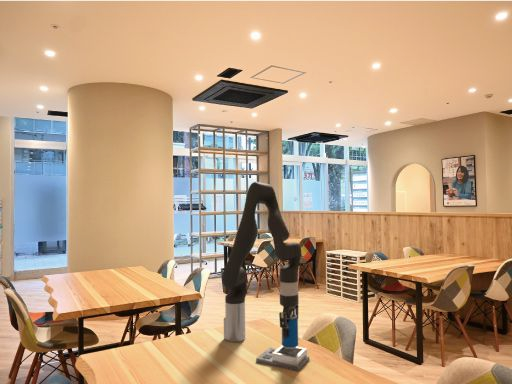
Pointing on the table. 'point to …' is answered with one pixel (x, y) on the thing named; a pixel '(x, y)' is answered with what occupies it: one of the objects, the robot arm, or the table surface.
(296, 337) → the beverage can
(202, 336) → the table surface
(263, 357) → the grey and white device
